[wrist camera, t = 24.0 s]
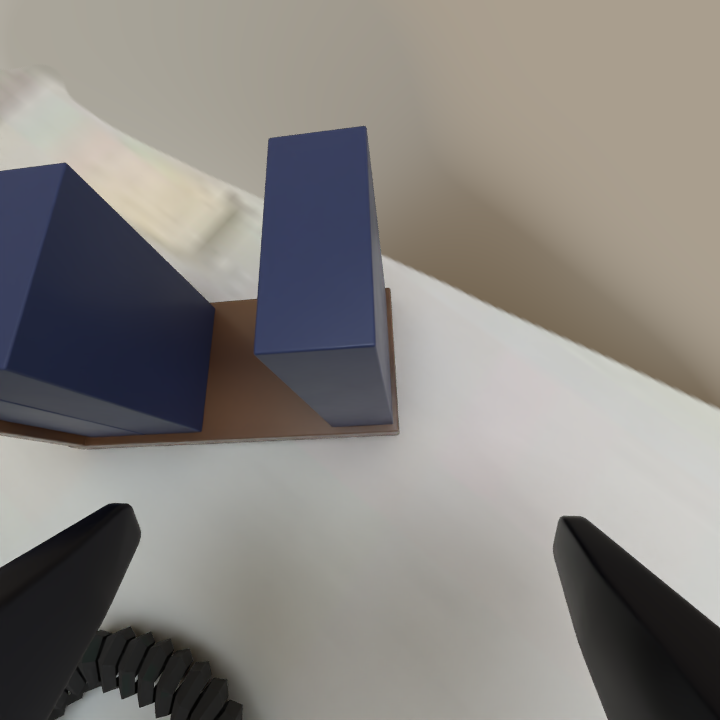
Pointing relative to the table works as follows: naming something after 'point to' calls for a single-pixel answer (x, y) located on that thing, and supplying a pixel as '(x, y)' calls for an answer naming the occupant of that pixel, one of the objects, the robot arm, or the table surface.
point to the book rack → (235, 397)
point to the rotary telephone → (149, 678)
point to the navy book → (324, 278)
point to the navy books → (93, 316)
